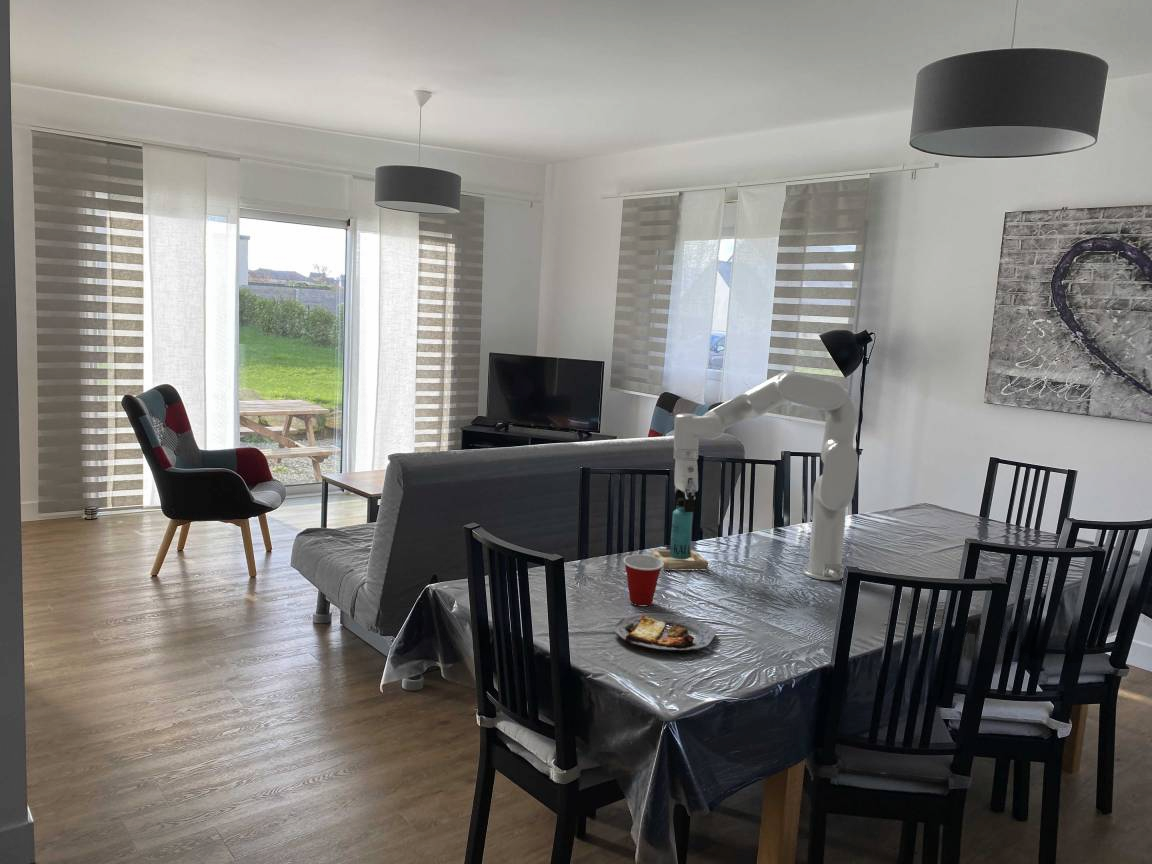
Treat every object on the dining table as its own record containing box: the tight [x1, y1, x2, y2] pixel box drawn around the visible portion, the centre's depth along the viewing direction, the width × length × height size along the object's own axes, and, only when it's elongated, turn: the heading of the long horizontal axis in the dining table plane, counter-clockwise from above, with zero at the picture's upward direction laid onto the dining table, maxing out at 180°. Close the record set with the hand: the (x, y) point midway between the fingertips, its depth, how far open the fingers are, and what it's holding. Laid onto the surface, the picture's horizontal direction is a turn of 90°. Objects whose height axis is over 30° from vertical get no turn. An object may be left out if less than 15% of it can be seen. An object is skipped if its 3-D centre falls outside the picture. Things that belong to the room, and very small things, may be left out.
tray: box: [650, 549, 709, 570], centre depth 278 cm, size 14×14×2 cm
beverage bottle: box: [669, 497, 694, 559], centre depth 277 cm, size 6×7×20 cm
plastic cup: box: [623, 554, 664, 606], centre depth 238 cm, size 11×11×12 cm
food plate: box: [613, 612, 718, 652], centre depth 214 cm, size 25×23×4 cm
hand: (684, 508), depth 276 cm, fingers open, 9 cm apart
